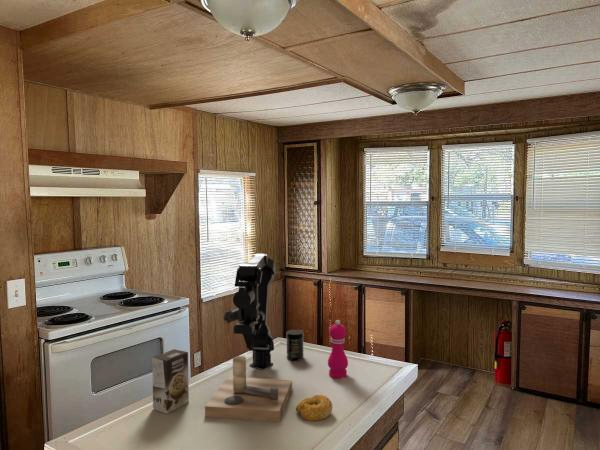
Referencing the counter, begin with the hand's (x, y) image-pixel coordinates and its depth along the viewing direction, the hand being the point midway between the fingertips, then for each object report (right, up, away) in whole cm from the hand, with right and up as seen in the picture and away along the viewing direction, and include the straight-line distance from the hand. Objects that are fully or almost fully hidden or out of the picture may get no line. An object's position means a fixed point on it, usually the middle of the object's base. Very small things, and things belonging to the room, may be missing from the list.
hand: (250, 346), depth 154 cm
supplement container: (+15, -12, +26) cm, 32 cm away
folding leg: (+3, -11, -14) cm, 18 cm away
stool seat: (+2, -14, -12) cm, 18 cm away
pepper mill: (+30, -13, +8) cm, 34 cm away
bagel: (+21, -15, -20) cm, 32 cm away
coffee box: (-23, -14, -15) cm, 30 cm away
